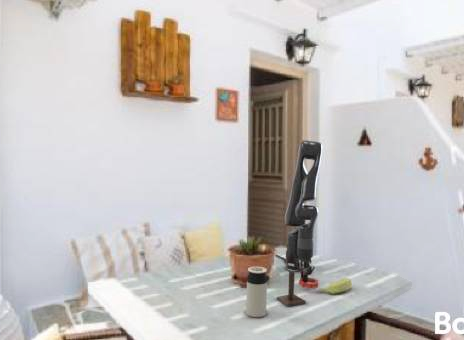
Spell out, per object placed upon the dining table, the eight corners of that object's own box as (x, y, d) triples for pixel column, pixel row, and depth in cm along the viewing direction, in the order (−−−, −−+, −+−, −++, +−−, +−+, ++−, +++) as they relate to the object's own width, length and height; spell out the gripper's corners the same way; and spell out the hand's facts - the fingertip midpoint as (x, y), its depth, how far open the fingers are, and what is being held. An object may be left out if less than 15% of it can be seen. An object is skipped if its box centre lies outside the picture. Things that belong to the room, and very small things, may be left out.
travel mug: (251, 319, 149) (252, 273, 148) (243, 311, 156) (244, 267, 156) (269, 316, 152) (270, 271, 151) (260, 308, 160) (262, 265, 159)
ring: (295, 282, 185) (295, 278, 185) (310, 280, 189) (310, 276, 189) (306, 289, 177) (306, 285, 177) (322, 286, 181) (322, 282, 181)
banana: (359, 276, 182) (323, 285, 175) (362, 288, 182) (326, 298, 174) (342, 274, 195) (308, 283, 187) (345, 286, 194) (311, 295, 187)
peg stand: (276, 299, 170) (277, 269, 169) (293, 296, 174) (294, 267, 174) (287, 307, 162) (288, 275, 161) (305, 303, 166) (306, 273, 166)
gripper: (320, 249, 181) (318, 285, 182) (303, 242, 193) (302, 276, 194) (307, 251, 177) (305, 288, 178) (291, 243, 189) (289, 278, 191)
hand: (303, 282), depth 186 cm, fingers closed on ring, 1 cm apart
